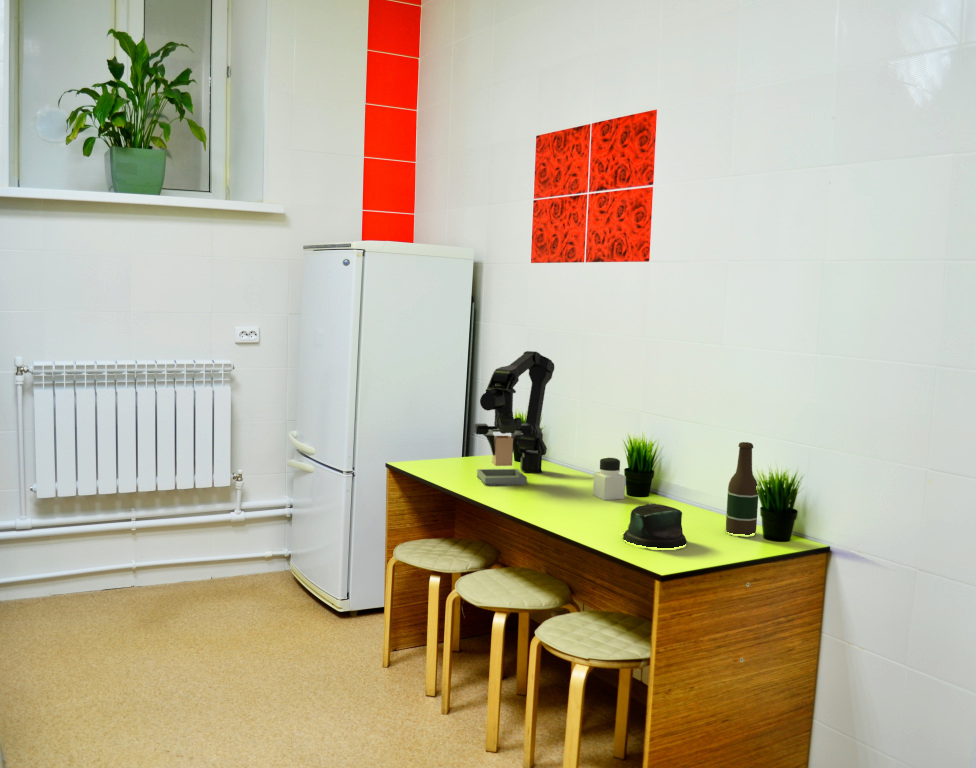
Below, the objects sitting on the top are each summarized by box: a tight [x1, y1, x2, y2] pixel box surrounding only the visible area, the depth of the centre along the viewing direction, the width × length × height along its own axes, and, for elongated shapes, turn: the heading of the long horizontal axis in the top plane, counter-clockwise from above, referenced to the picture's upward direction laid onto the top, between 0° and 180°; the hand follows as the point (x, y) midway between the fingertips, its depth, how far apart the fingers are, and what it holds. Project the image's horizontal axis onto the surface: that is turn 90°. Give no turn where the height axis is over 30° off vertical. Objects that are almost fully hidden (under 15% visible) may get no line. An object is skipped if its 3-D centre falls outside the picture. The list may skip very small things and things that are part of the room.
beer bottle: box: [725, 441, 759, 535], centre depth 220 cm, size 8×8×24 cm
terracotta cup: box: [491, 435, 514, 467], centre depth 277 cm, size 6×6×9 cm
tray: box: [476, 468, 528, 486], centre depth 278 cm, size 14×14×2 cm
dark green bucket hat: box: [622, 502, 688, 548], centre depth 211 cm, size 20×20×9 cm
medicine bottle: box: [592, 457, 626, 501], centre depth 259 cm, size 7×7×12 cm
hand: (502, 455), depth 277 cm, fingers closed on terracotta cup, 5 cm apart
